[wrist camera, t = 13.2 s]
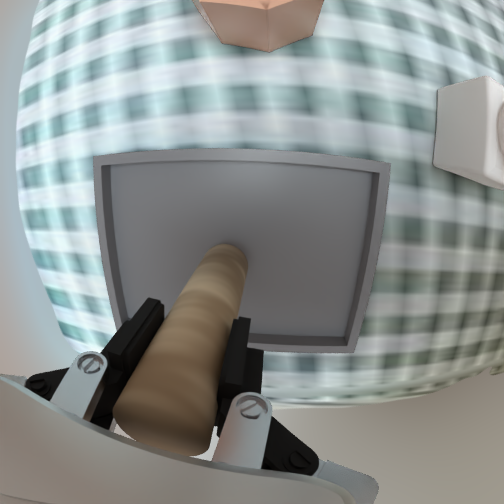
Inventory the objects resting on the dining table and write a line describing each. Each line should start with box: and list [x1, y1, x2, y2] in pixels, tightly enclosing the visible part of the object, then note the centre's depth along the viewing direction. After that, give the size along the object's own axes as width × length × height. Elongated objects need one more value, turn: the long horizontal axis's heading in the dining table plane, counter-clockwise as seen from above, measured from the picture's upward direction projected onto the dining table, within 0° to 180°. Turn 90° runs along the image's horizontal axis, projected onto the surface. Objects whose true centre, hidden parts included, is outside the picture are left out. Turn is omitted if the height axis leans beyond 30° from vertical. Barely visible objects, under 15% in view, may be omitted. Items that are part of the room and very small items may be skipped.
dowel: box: [113, 244, 248, 456], centre depth 13 cm, size 3×3×14 cm
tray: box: [93, 148, 391, 353], centre depth 21 cm, size 22×16×2 cm
